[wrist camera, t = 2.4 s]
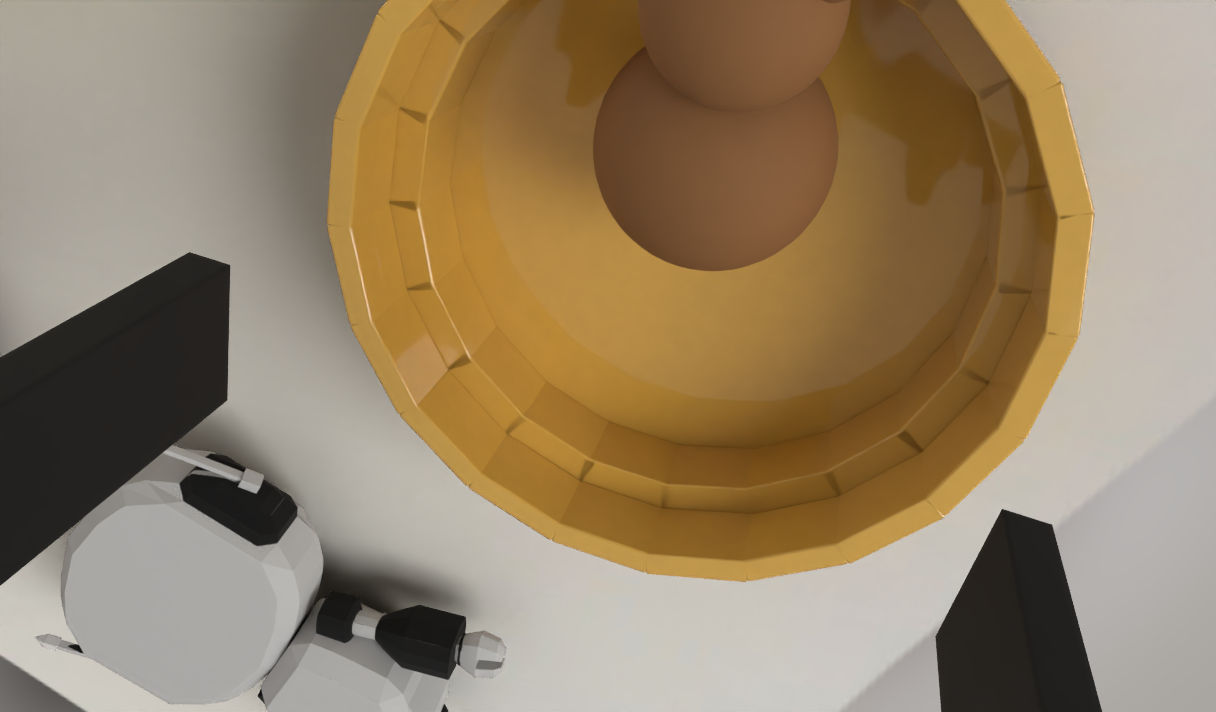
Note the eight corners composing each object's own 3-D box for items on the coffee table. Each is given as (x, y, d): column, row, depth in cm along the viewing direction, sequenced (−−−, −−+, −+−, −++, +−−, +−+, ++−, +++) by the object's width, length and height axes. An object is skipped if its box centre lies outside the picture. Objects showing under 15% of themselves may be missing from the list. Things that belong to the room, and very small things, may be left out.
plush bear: (630, 108, 26) (654, -241, 18) (830, 164, 26) (957, -170, 17) (560, 275, 24) (550, -33, 15) (779, 342, 23) (895, 58, 15)
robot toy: (548, 592, 35) (187, 363, 33) (514, 689, 32) (104, 436, 29) (400, 751, 42) (88, 565, 39) (357, 848, 38) (8, 648, 36)
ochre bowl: (454, -224, 23) (356, -244, 19) (1187, -44, 21) (1264, -21, 17) (386, 379, 32) (308, 459, 28) (906, 548, 30) (910, 664, 26)
